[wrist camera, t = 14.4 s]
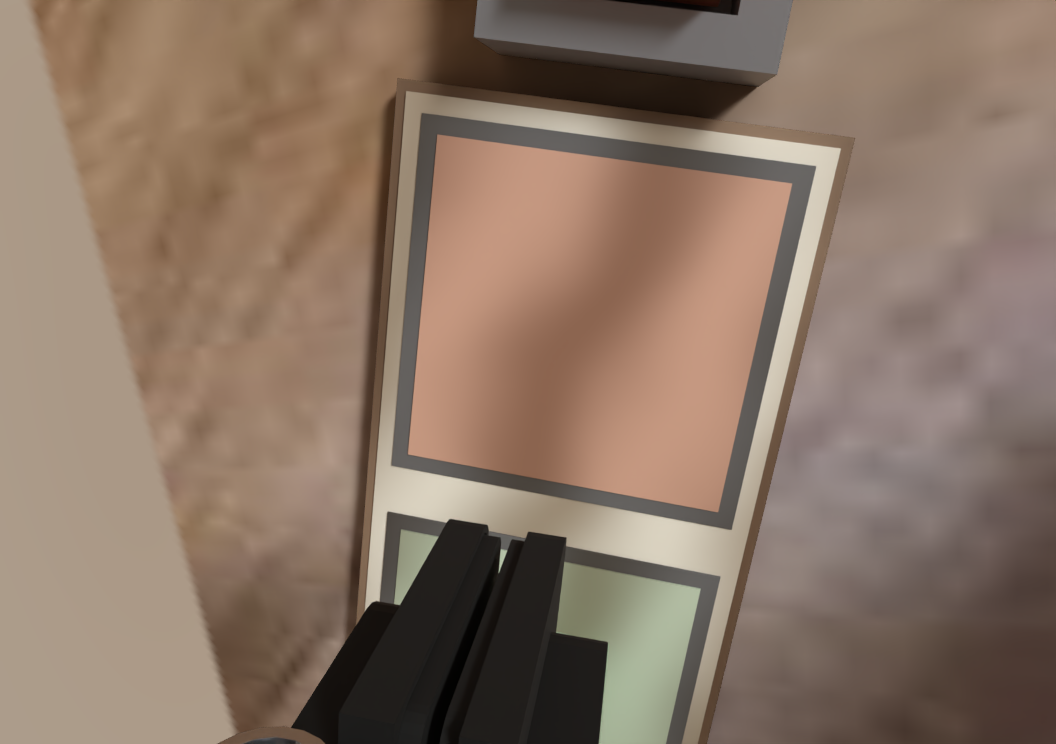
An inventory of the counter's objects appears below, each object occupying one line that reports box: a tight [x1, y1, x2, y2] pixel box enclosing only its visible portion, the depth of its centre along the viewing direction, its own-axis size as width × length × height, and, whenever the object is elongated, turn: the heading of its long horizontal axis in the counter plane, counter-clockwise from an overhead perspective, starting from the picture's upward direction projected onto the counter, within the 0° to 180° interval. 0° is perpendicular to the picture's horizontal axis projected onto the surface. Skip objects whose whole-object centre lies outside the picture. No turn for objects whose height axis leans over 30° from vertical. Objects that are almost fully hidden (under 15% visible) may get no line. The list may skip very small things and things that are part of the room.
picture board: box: [356, 78, 855, 744], centre depth 24 cm, size 12×24×1 cm, turn 173°
